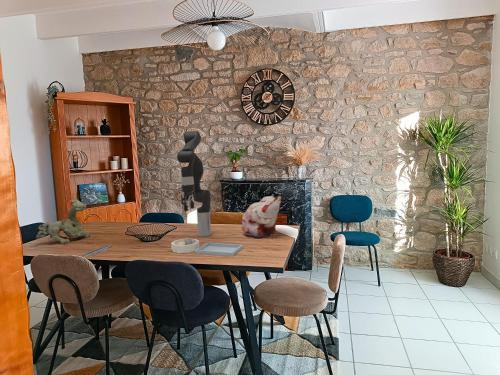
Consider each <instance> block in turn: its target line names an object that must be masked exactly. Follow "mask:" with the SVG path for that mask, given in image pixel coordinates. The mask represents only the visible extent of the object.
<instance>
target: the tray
mask: <svg viewBox="0 0 500 375" xmlns="http://www.w3.org/2000/svg"><path fill="white" fill-rule="evenodd" d="M242 249H244V244H237V243H236V244H235V243H221V242H219V243H218V242H206V243H204V244H202V245H201V246H200V248H198V249H196V250H195V251H194V254H196V255H207V256H208V255H210V256H223V257H234V256H236V255H237V253H239V252H240V251H241V250H242Z"/></svg>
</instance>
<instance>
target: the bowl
mask: <svg viewBox="0 0 500 375" xmlns="http://www.w3.org/2000/svg"><path fill="white" fill-rule="evenodd" d="M186 239H187V238H181V239H176V240H174V241H172V242H171V243H170V244H171V247H170V248H171V251H172V253H173V254H175V253H177V254H188V253H195V250H196V249H198V248H200V247H201V246H200V240H198V239H196V238H191V239H192V244H189V245H178V242H181V241H184V242H185V240H186Z"/></svg>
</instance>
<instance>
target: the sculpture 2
mask: <svg viewBox="0 0 500 375" xmlns="http://www.w3.org/2000/svg"><path fill="white" fill-rule="evenodd" d="M281 203H282V196H281V195H278V196H277V197H275V196H272V195H271V196H270V195H269V196H264V197H263V198H261V200H260V201H259V202H254V203H252V204H251V205H249V207H248V208H247V209H246V210H245V212H244V213H243V215H242V217H241V231H243V232H244V235H245V236H249V237H255V238H265V237H269V236H271V235H273V234H275V233H276V232H277V229H276V228H277V223H276V222H277V220H278V213H279V211H280V206H281Z"/></svg>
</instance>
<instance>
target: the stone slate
mask: <svg viewBox="0 0 500 375" xmlns="http://www.w3.org/2000/svg"><path fill="white" fill-rule="evenodd" d="M185 239H186V240H185V245H189V244H192V239H193V238H185Z"/></svg>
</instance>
